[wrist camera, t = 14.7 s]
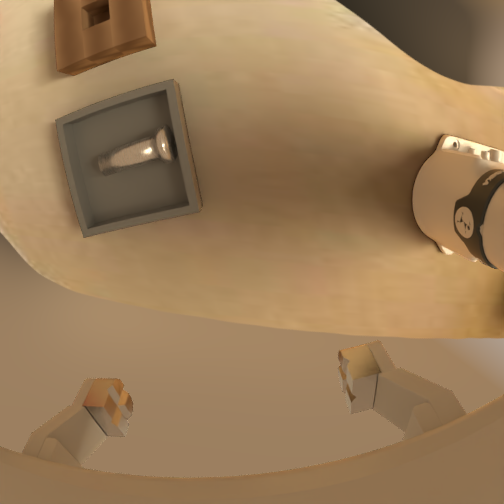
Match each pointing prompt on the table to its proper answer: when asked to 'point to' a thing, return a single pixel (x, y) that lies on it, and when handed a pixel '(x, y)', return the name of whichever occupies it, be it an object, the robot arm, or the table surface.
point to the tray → (134, 179)
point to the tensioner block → (100, 32)
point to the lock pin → (140, 152)
